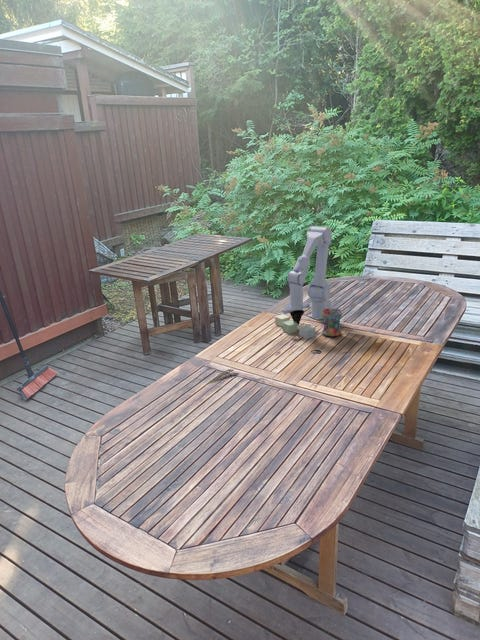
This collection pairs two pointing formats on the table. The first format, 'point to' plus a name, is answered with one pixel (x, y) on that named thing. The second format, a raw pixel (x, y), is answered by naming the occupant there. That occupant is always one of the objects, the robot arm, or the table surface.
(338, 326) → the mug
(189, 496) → the table surface
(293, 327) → the block sage
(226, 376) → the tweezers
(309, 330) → the block bluegrey
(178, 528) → the table surface
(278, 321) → the block cream
